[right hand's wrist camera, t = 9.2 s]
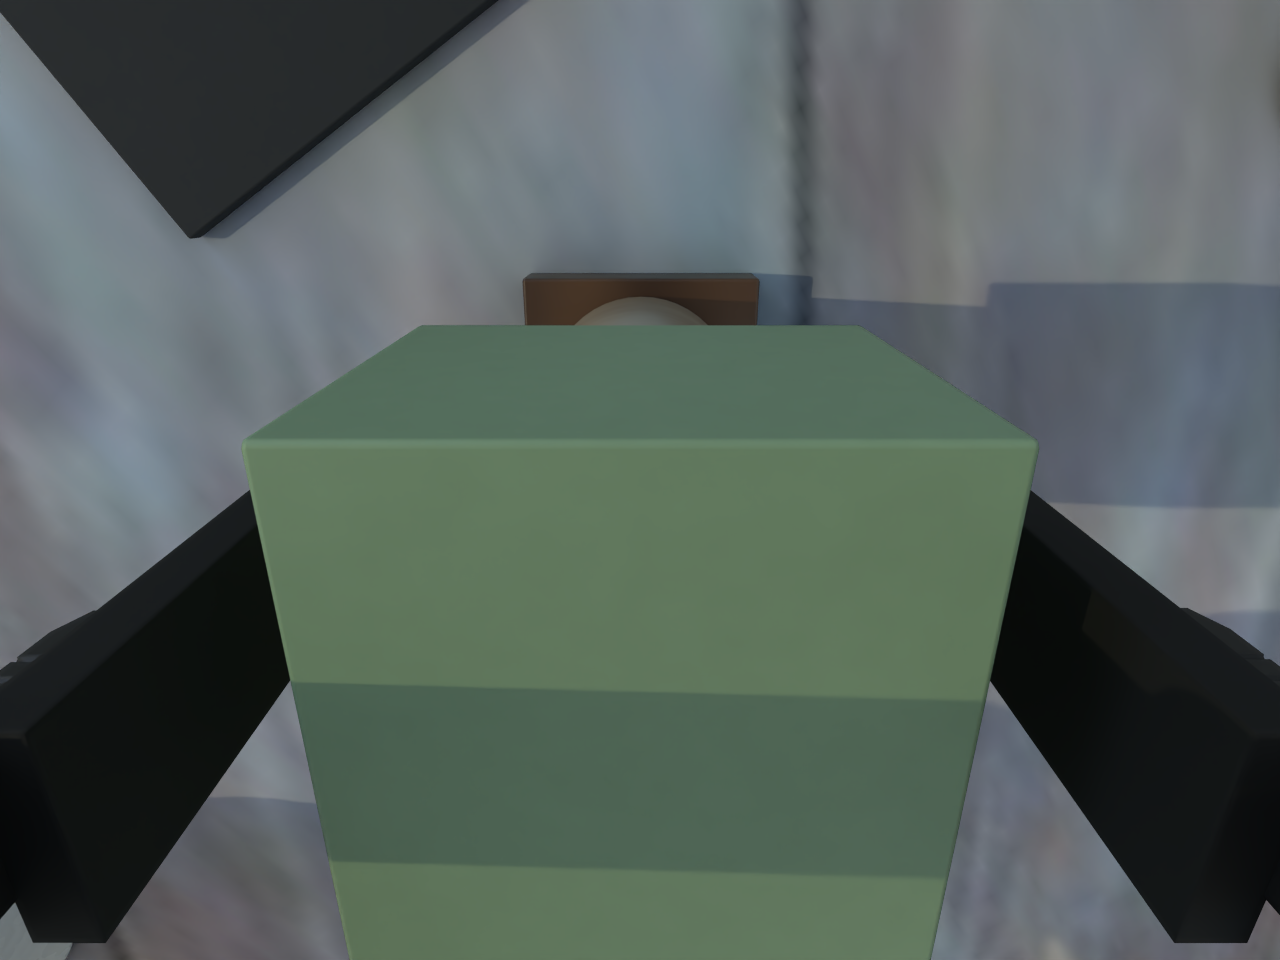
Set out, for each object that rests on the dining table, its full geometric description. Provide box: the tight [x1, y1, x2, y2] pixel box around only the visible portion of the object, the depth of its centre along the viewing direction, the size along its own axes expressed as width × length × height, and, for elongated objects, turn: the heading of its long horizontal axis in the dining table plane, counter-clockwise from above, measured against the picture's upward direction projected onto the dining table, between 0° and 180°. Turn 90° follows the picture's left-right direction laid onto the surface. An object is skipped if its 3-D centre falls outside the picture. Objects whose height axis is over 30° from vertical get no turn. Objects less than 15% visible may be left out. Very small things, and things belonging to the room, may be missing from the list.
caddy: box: [523, 273, 759, 325], centre depth 22 cm, size 7×25×12 cm, turn 0°
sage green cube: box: [241, 325, 1039, 960], centre depth 11 cm, size 7×7×6 cm
